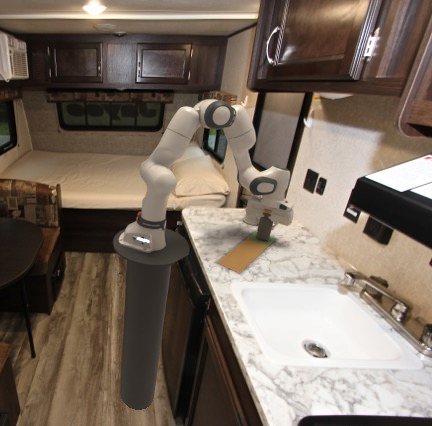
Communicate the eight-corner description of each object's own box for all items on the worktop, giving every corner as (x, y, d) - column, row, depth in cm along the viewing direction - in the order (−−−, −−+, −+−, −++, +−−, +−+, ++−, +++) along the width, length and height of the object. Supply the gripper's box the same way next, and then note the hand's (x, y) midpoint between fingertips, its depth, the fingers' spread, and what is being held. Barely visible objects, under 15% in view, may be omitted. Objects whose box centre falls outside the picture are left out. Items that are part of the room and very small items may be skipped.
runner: (239, 273, 117) (239, 273, 117) (216, 262, 123) (216, 262, 123) (268, 246, 137) (268, 246, 137) (247, 238, 143) (247, 238, 143)
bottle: (253, 236, 142) (260, 208, 137) (259, 233, 146) (265, 205, 140) (265, 241, 138) (272, 212, 133) (271, 237, 142) (278, 209, 136)
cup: (253, 217, 166) (258, 197, 161) (267, 223, 158) (272, 203, 153) (239, 219, 162) (244, 199, 157) (252, 227, 154) (258, 206, 149)
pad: (268, 246, 137) (268, 246, 137) (247, 238, 143) (247, 238, 143) (276, 239, 143) (276, 238, 143) (255, 231, 149) (255, 231, 149)
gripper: (246, 195, 139) (240, 221, 145) (293, 209, 126) (284, 237, 132) (252, 192, 143) (245, 218, 149) (298, 205, 130) (289, 232, 136)
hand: (264, 227), depth 140 cm, fingers closed on bottle, 5 cm apart
